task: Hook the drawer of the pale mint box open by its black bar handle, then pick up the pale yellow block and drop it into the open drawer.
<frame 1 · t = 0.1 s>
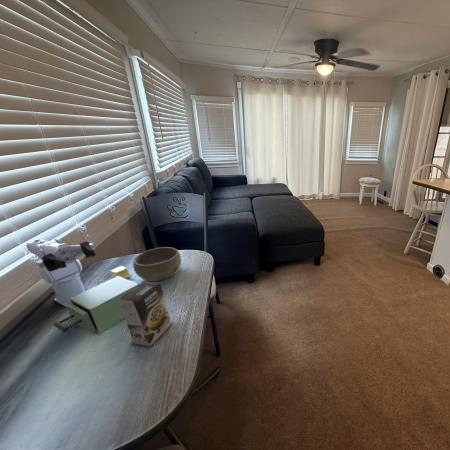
hand: (79, 258, 76), 22 cm above the table, tool horizontal, fingers open, 7 cm apart
brown food box: (153, 333, 75), on the table
drawer: (94, 310, 78), point 5 cm above the table, slide at 0.5 cm
bowl: (161, 275, 106), on the table
block: (121, 277, 104), on the table
pale mint box: (113, 312, 84), on the table
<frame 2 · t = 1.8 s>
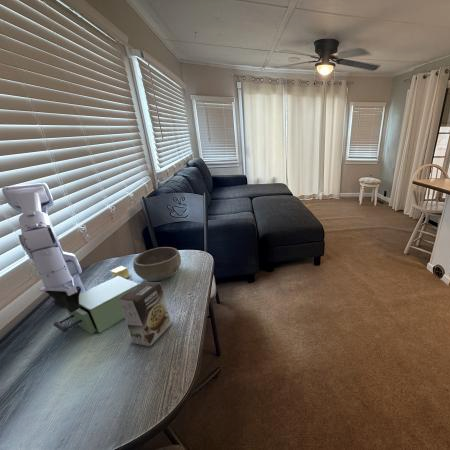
hand: (70, 307, 72), 9 cm above the table, tool pointing down, fingers open, 5 cm apart
nothing on the table moved.
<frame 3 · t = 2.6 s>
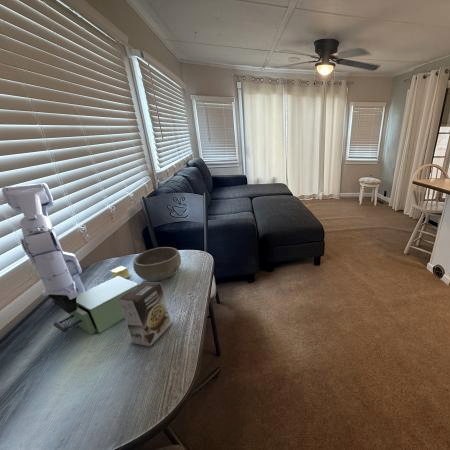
hand: (71, 311, 73), 8 cm above the table, tool pointing down, fingers closed, pressing on drawer
drawer: (94, 310, 78), point 5 cm above the table, slide at 0.5 cm, touching gripper
everything else where it was.
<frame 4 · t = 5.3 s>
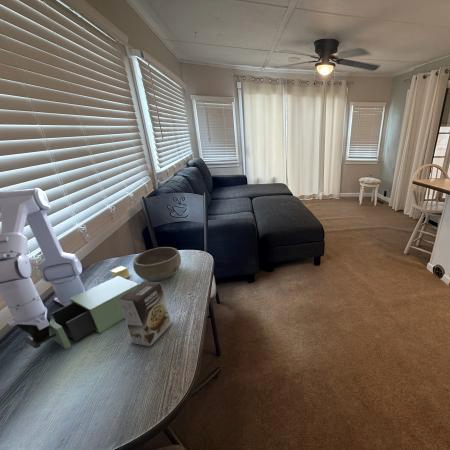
hand: (43, 340, 68), 4 cm above the table, tool pointing down, fingers closed, pressing on drawer
drawer: (71, 322, 73), point 5 cm above the table, slide at 6.7 cm, touching gripper
everything else where it was.
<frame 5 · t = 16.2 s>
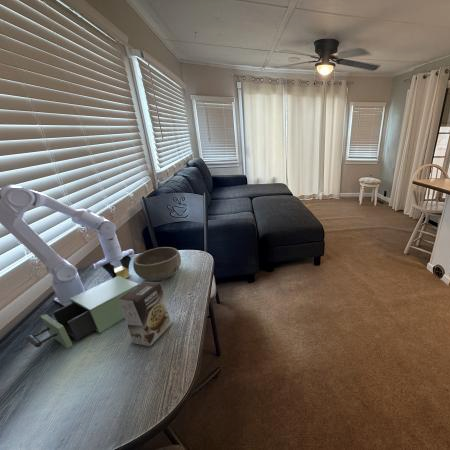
hand: (120, 275, 104), 1 cm above the table, tool pointing down, fingers closed on block, 4 cm apart
drawer: (72, 322, 73), point 5 cm above the table, slide at 6.3 cm
block: (121, 277, 104), on the table, touching gripper
everything else where it was.
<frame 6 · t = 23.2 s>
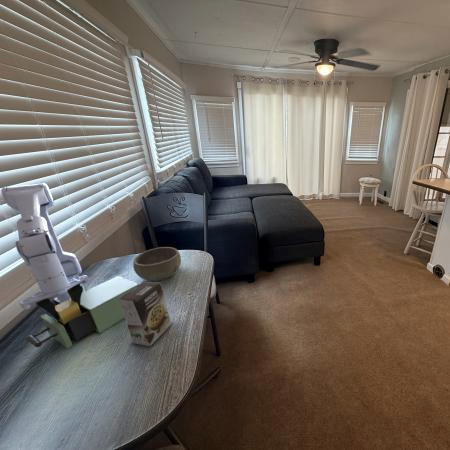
hand: (67, 313, 72), 8 cm above the table, tool pointing down, fingers closed on block, 4 cm apart
block: (69, 317, 73), point 7 cm above the table, touching gripper
everything else where it was.
when the fingers open (9 cm above the table, at t = 26.3 s): block drops 5 cm, resting on drawer.
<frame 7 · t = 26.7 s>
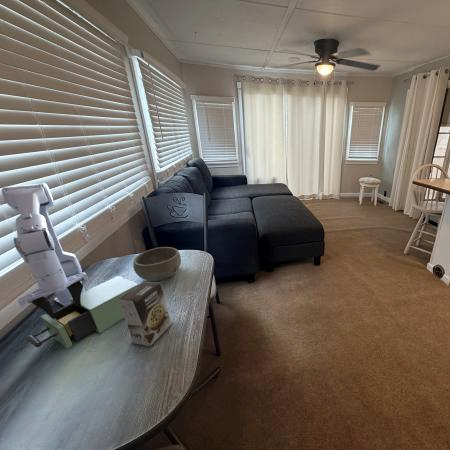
hand: (66, 311, 72), 9 cm above the table, tool pointing down, fingers open, 5 cm apart
drawer: (72, 322, 73), point 5 cm above the table, slide at 6.3 cm, touching block
block: (75, 328, 74), point 2 cm above the table, touching drawer
everything else where it was.
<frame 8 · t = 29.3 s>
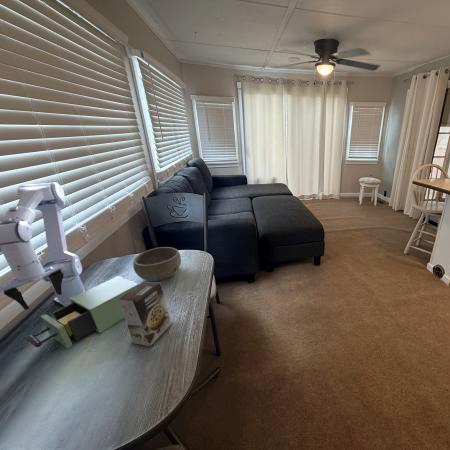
hand: (43, 300, 74), 10 cm above the table, tool pointing down, fingers open, 7 cm apart
nothing on the table moved.
at the end: drawer slide at 6.3 cm; block inside the target area in the drawer (1.0 cm from its centre), point 2.0 cm above the pale mint box's base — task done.
